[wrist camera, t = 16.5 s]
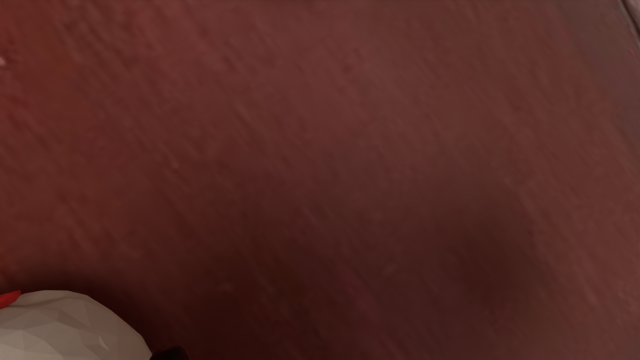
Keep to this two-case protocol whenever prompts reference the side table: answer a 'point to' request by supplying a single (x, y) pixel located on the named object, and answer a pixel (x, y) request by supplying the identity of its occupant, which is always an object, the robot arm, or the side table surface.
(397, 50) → the side table surface
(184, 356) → the robot arm
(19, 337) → the white and red lump
